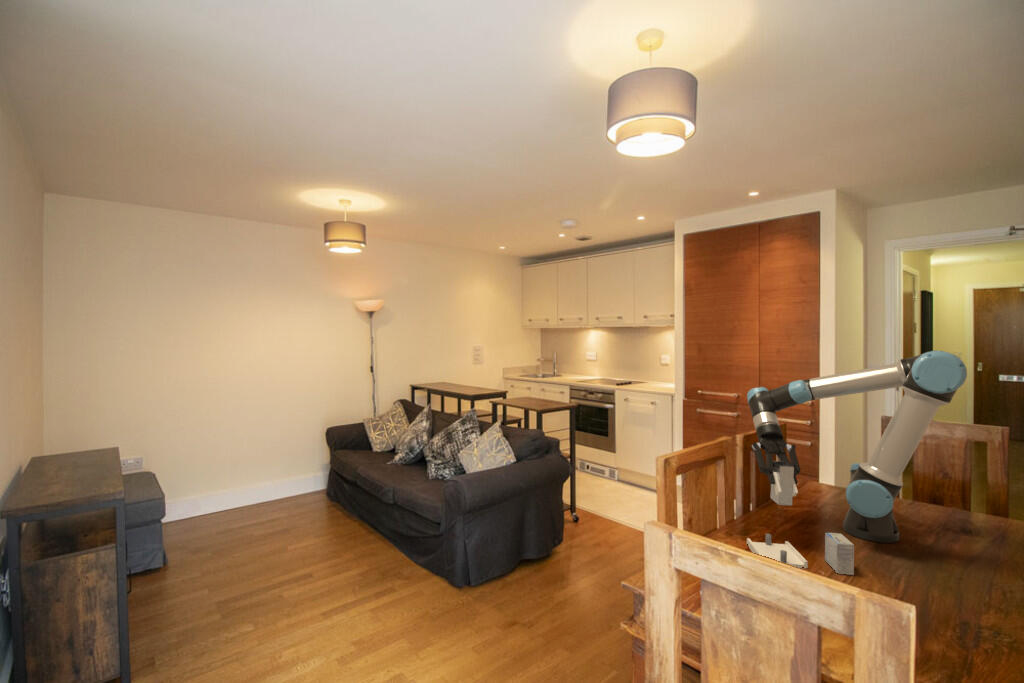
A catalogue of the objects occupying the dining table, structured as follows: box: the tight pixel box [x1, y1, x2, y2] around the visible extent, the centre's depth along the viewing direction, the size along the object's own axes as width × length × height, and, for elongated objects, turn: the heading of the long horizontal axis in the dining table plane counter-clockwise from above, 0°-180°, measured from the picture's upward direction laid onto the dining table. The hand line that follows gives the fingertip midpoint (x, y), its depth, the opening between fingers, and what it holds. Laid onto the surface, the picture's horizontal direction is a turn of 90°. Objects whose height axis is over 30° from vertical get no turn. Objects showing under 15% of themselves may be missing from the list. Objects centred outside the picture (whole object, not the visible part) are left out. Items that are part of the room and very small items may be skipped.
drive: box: [769, 460, 794, 506], centre depth 154 cm, size 4×6×12 cm
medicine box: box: [824, 532, 855, 576], centre depth 139 cm, size 8×4×9 cm, turn 168°
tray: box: [746, 533, 809, 570], centre depth 146 cm, size 12×14×4 cm
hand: (787, 493), depth 151 cm, fingers closed on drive, 4 cm apart
